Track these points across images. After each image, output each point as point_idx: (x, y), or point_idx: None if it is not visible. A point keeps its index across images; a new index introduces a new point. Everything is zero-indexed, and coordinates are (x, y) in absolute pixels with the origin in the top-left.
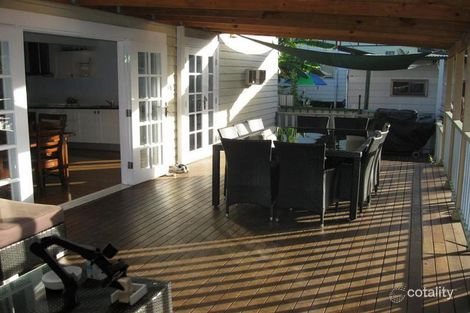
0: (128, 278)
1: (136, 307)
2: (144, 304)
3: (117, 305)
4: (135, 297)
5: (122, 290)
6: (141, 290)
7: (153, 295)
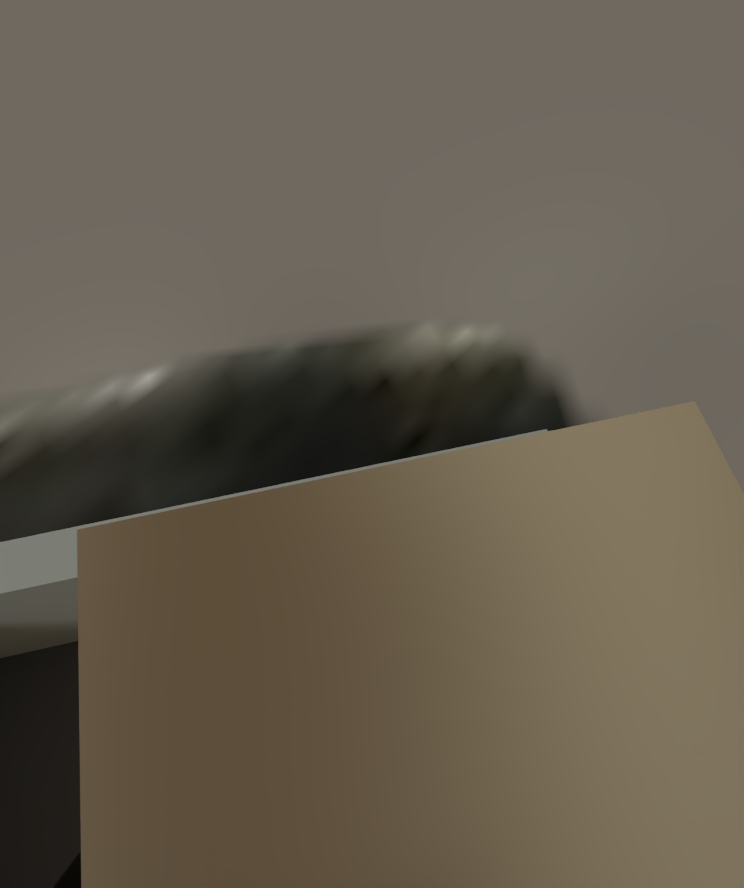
0: (234, 580)
1: (524, 388)
2: (384, 346)
3: None
4: None
5: None
6: None
7: (58, 426)
